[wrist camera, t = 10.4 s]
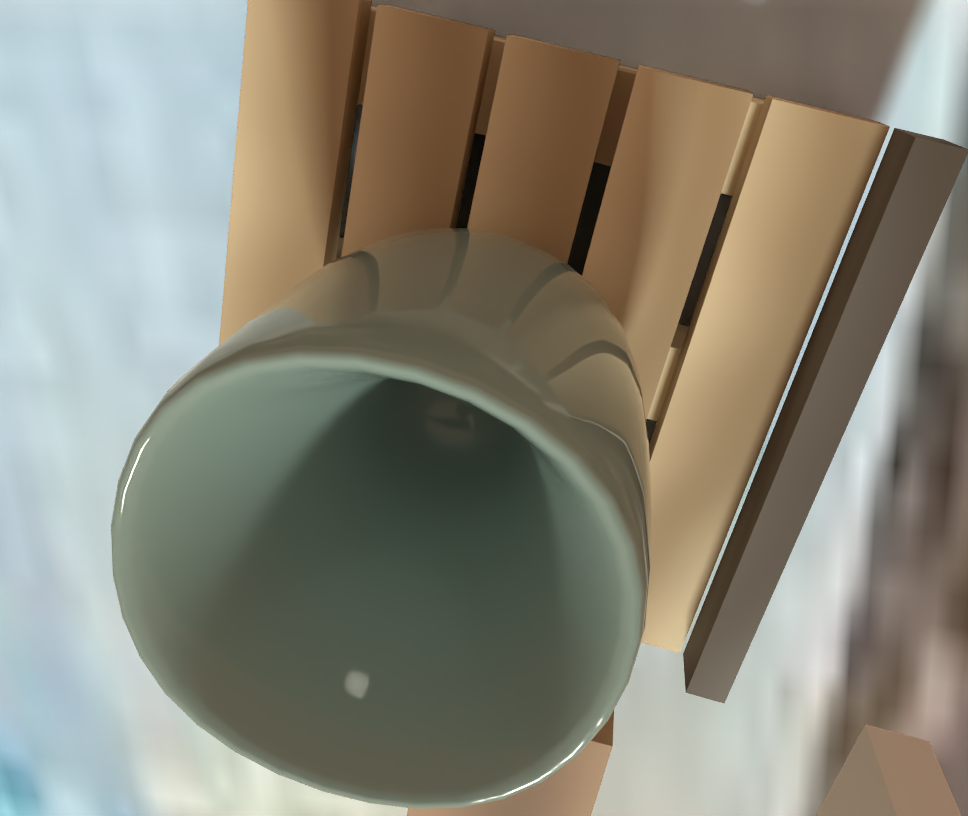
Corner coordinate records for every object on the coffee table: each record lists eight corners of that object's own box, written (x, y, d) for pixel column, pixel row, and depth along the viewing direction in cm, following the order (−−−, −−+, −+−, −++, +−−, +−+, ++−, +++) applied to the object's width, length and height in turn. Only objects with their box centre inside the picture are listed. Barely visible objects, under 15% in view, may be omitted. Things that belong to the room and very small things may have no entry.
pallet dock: (241, 468, 27) (171, 547, 23) (292, -22, 21) (209, -32, 17) (711, 597, 26) (724, 703, 22) (903, 123, 20) (968, 149, 16)
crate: (440, 706, 30) (404, 828, 25) (462, 589, 28) (428, 699, 23) (583, 742, 30) (572, 872, 25) (617, 626, 27) (612, 746, 23)
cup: (355, 151, 20) (113, 266, 11) (692, 245, 19) (738, 446, 10) (305, 447, 23) (88, 725, 14) (591, 532, 23) (558, 874, 14)
